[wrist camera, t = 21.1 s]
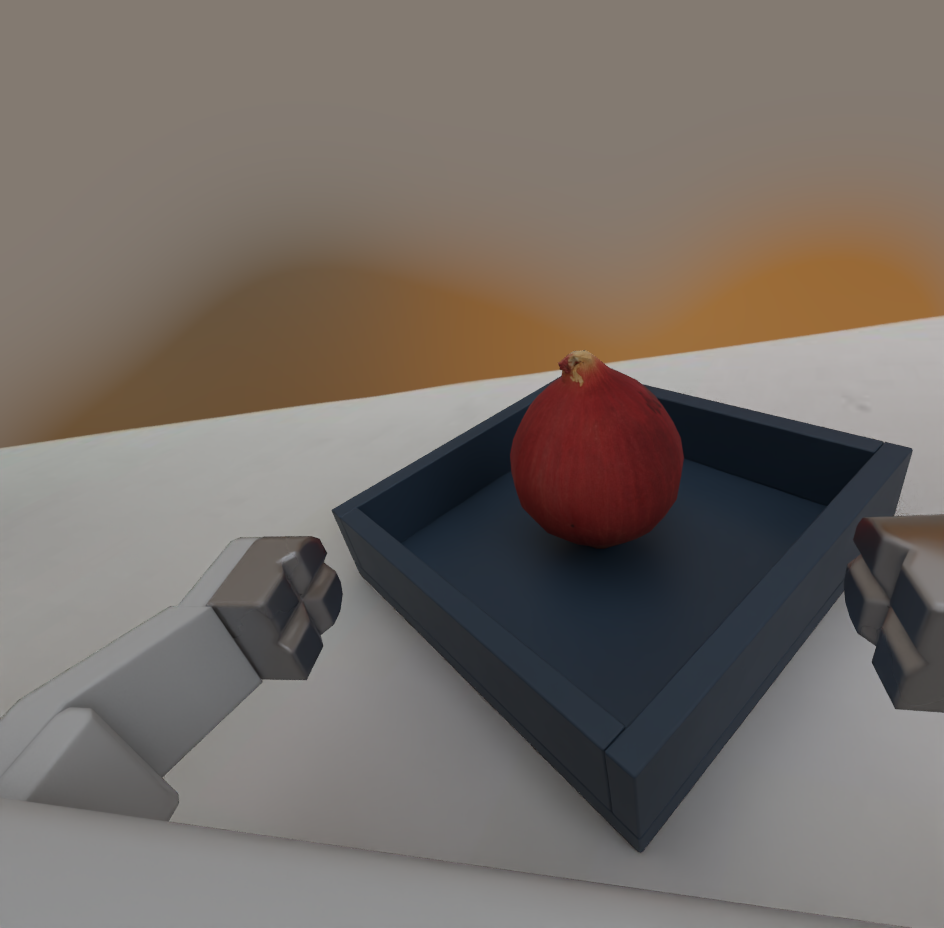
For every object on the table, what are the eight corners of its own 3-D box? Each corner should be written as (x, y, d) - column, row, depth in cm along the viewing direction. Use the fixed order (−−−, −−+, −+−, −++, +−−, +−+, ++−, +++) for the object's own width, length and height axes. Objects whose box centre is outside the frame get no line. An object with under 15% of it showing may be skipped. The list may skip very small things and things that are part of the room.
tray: (359, 573, 23) (331, 509, 21) (581, 426, 30) (574, 367, 28) (641, 855, 13) (634, 779, 11) (890, 531, 19) (913, 448, 17)
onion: (578, 482, 24) (557, 310, 20) (707, 519, 20) (715, 318, 16) (499, 561, 21) (454, 377, 17) (636, 623, 17) (622, 405, 13)
